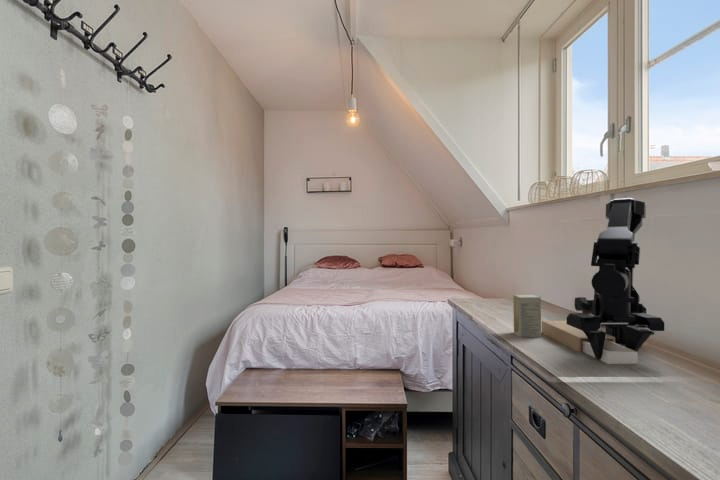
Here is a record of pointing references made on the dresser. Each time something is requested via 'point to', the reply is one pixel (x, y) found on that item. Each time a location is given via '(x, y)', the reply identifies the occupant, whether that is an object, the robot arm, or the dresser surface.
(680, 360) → the dresser surface
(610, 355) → the tray
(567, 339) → the sleeve
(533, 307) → the skincare box
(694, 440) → the dresser surface
